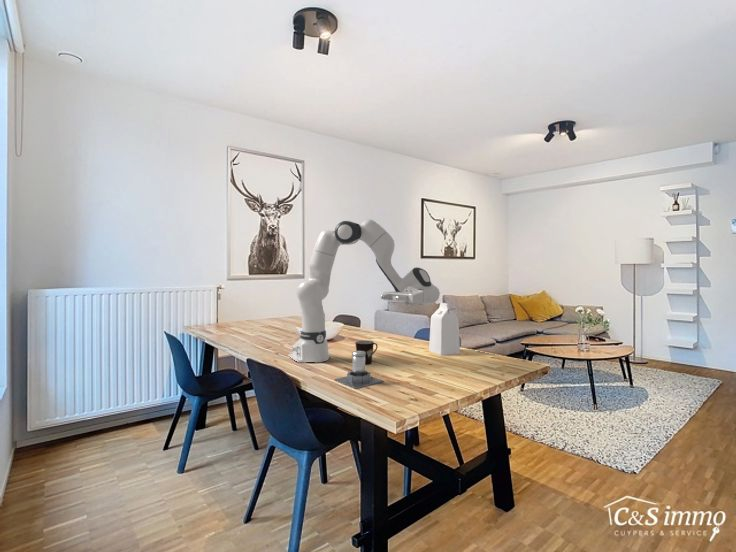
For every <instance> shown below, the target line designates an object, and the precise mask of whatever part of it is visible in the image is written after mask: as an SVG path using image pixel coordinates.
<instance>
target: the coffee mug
mask: <svg viewBox="0 0 736 552" xmlns="http://www.w3.org/2000/svg"><path fill="white" fill-rule="evenodd" d="M354 343H355V351H364V352H366V355H365V366H369V365H372V362H373V355H374V354H375V353H376V351H377V350H378V348H379V346H378V344H377V342H375V341H374V340H373V341H372V340H366V339H365V340H364V339H363V340H357V341H355V342H354ZM374 345H375V346H376V347H375V349H374Z"/></svg>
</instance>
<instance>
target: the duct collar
mask: <svg viewBox="0 0 736 552" xmlns="http://www.w3.org/2000/svg"><path fill="white" fill-rule="evenodd" d="M371 373H372V372H370V371H368V370H365V375H364V376H353V370H352V371H347V374H346V376H343V377H342V376H341V377H338V378H334V379H333V380H335V382H337V381H338V382H337V383H339V382H340V384H342V383H343V384H342V385H345V386H347V385H348V386H347V387H349V388H352V387H353V389H355V390H356V389H361V388H365V387H370V386H372V385H376V384H377V385H378V384H380V383H384V382H385V381H384V380H383V379H381V378H378V377H374V376H371Z"/></svg>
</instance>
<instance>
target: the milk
mask: <svg viewBox="0 0 736 552" xmlns="http://www.w3.org/2000/svg"><path fill="white" fill-rule="evenodd" d="M459 321H460V320H459V317H458V315H456V313H454V312H453V311H452V309H451V308H450V304H449V303H445V302H440V303H439V308H437V309H436V310H435V311H434V313H433V314H432V315H431V317H430V327H429V328H430V329H429V344H428V346H429V347H428V351H429V352H431V353H433V352H434V353H433V354H436V353H437V354H436V355H438V354H439V356H441V355H442V356H450V355H452V356H453V355H461V343H460V322H459Z"/></svg>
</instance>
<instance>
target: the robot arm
mask: <svg viewBox="0 0 736 552" xmlns="http://www.w3.org/2000/svg"><path fill="white" fill-rule="evenodd" d="M358 241H362V242H364V243H365V244H366V246H367V247H369V248H370V250H371V251H372V252H373V254H374V256H375V263H376V264H377V266H378V267H379V269H380V270H381V272H382V273H383V274H384V276H385V277H386V279H387V281H389V283H390V284H391V285H392V288H393V290H394V291H384V292H382V294H381V295H380V299H381V300H383V301H391V302H401V303H404V304H405V306H408V307H416V306H417V307H418V306H428V305H432V304H434V303H436V302H438V301H439V298H440V292H441V291H440V289H439V288H438V287H437V286H436V285H434V284H433V283H432V282H431V277H430V275H429V273H428V272H427V271H426V270H425V269H424V268H421V267H417V266H416V267H413V268H412V269H411V270H410V271H408V273H407V274H406V275H405V276H404V277H401V276H400V275H399V273H398V272H397V271H396V269H395V268H394V266H393V265H392V257H393V254H394V251H395V240H394V238H393V237H392V236H391V235H390V234H389V232H387V230H386V229H385V228H384V227H382V226H381V225H380V224H379V223H377V222H376V221H375V220H373V219H366V220H364V221H362V222H361V223H360V224H359V223H357V222H353V221H350V220H343V221H341V222H338V224H336V226H335V228H334V230H330V229H325V230H322V231H321V232H320V233H319V235H318V237H317V239H316V241H315V244H314V247H313V250H312V252H311V257H310V261H309V263H308V264H309V265H308V267H309V268H308V269H309V272H308V273H309V274H308V279H307V280H304V281H302V282H301V283H300V284H299V285H298V286H297V289H296V296H297V298H298V301H299V306H300V310H301V330H300V331H299V332H300V333H299V335H300V336H299V339H298V340H297V341H296V342H295V343H294V344H293V346H292V353H289V354H288V355H287V357H288V356H290V357H291V358H293V359H294V360H295V361H297V362H296V363H306V362H315V363H322V362H325V361H328V360H329V359H330V358H331V354H329V346H328V345H329V343H328V342H329V341H328V340H327V339H326V338H327V331H326V313H325V311H324V307H323V300H324V299H325V298H327V297H328V294H329V291H330V289H329V287H330V283H331V275H332V271H333V266H334V264H335V260H336V256H337V252H338V250H339V247H340V246H341V245H349V246H351V245H354V244H356V243H357V242H358ZM290 357H289V358H290ZM291 358H290V359H291ZM294 360H293V361H294ZM295 361H294V362H295Z"/></svg>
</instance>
